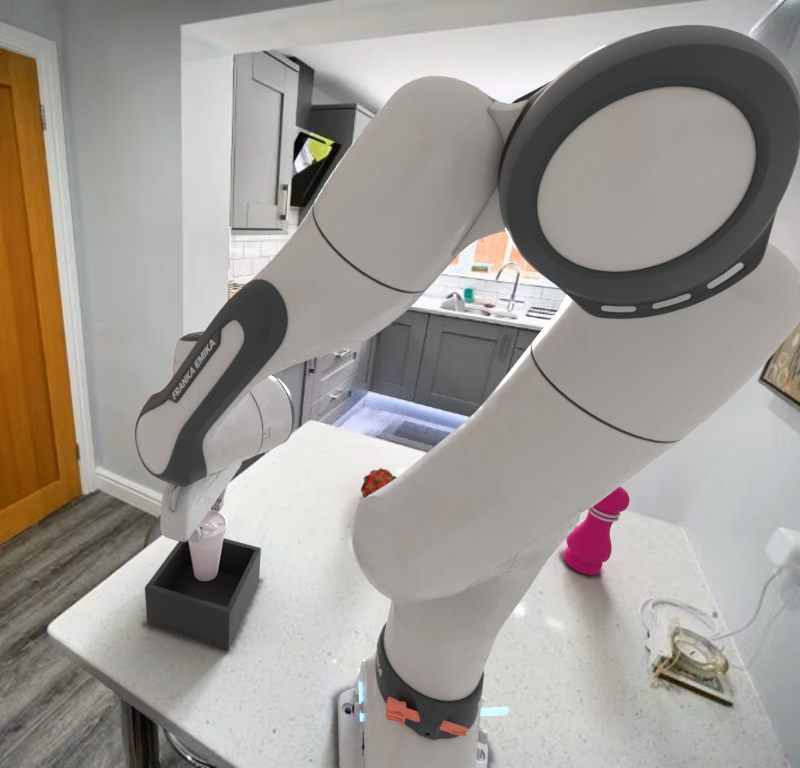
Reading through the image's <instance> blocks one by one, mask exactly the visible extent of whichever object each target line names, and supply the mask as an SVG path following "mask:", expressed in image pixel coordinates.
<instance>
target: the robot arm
mask: <svg viewBox="0 0 800 768" xmlns="http://www.w3.org/2000/svg"><path fill="white" fill-rule="evenodd" d="M799 155H800V93H799V89H798V87H797V85H796V82H795V81H794V79H793V76H792V75H791V73H790V71H789V70H788V69H787V67H786V66H785V64H784V63H783V62H782V61H781V59H780V58H778V57H777V56H776V54H774V53H773V51H771V50H770V48H768V47H766V46H765V45H764V44H762V43H761V42H759V41H757V40H756V39H754V38H752V37H750V36H748V35H746V34H744V33H741V32H739V31H736V30H732V29H730V28H724V27H720V26H715V25H707V24H706V25H704V24H681V25H671V26H665V27H660V28H654V29H651V30H647V31H643V32H639V33H635V34H632V35H628V36H624V37H622V38H619V39H617V40H613V41H612V42H609V43H606V44H604V45H603V46H601V47H598V48H597V49H595V50H593V51H591V52H589V53H587V54H586V55H584V56H583V57H581V58H579V59H578V60H577V61H575V62H573V63H572V64H571V65H570V66H568V68H566V69H565V70H563V71H562V72H561V73H560V74H558V75H557V76H556V77H555V78H554V79H552V80H551V81H549V82H547V83H545V84H543V85H541V86H539V87H537V88H535V89H533V90H532V91H530V92H528V93H526V94H523V95H522V96H520V97H518V98H516V99H515V100H513V101H512V102H510V103H508V102H503V101H500V100H497V99H495V98H493V97H492V96H490V95H489V94H487V93H486V92H484V91H483V90H482V89H480V88H479V87H477V86H475V85H473V84H471V83H469V82H467V81H466V80H462V79H459V78H457V77H451V76H444V75H428V76H421V77H418V78H415V79H413V80H411V81H409V82H407V83H405V84H403V85H402V86H401V87H399V88H398V89H397V90H396V91H395V92H393V93H392V95H391V96H390V97H389V98H388V99H387V100H386V101H385V103H384V104H383V105H382V106H381V108H380V109H378V110H377V112H376V114H374V116H373V117H372V118H371V119H370V121H369V122H368V123H367V124H366V126H364V128H363V129H362V131H361V132H360V133H359V134H358V136H357V137H356V138H355V139H354V141H353V142H352V144H350V147H349V148H348V149H347V151H346V152H345V153H344V155H343V156H342V157H341V159H340V160H339V161H338V163H337V165H336V167H335V168H334V169H333V171H332V172H331V174H330V175H329V177H328V179H327V180H326V182H325V183H324V185H323V186H322V188H321V190H320V192H319V193H318V195H317V197H316V198H315V200H314V202H313V204H312V205H311V207H310V209H309V210H308V212H307V213H306V215H305V216H304V218H303V220H302V221H301V223H300V224H299V226H298V227H297V228H296V230H295V231H294V232H293V234H292V235H291V236H290V238H289V239H288V240H287V241H286V242H285V244H284V245H283V246H282V247H281V248H280V250H279V251H278V252H277V253H276V254H275V256H274V257H273V258H271V260H270V261H269V262H268V263H267V264H266V265H265V266H264V267H263V268H262V269H261V270H260V271H259V272H258V273H257V274H256V275H255V276H254V277H252V279H250V281H248V282H247V283H245V284H244V285H243V286H242V287H241V288H240V289H239V290H237V292H235V294H233V295H232V296H231V297H230V298H229V299H228V300H227V301H226V303H225V304H224V305H222V307H221V308H220V309H219V311H218V312H217V313H216V315H215V316H214V318H213V319H212V320H211V321H210V323H209V324H208V326H207V327H206V329H205V330H204V331H203V330H202V331H197V332H191V333H187V334H185V335H183V336H182V337H180V338H179V339H178V340H177V342H176V344H175V345H176V346H175V350H174V356H173V364H172V365H173V366H172V377H171V379H170V381H169V382H168V383H167V385H166V386H165V387H164V388H163V389H162V390H160V391H158V392H155V393H154V394H152V395H150V397H149V398H148V399H147V401H146V402H145V404H144V405H143V407H142V409H141V410H140V412H139V414H138V417H137V419H136V423H135V427H134V440H135V446H136V450H137V454H138V456H139V459H140V461H141V463H142V465H143V467H144V468H145V469H146V470H147V472H148V473H149V474H150V475H152V476H153V477H155V478H156V479H158V480H161V481H163V482H165V483H167V484H166V486H165V488H164V490H163V492H162V495H161V496H162V497H161V505H160V521H159V522H160V523H159V524H160V527H159V528H160V534H161V535H162V536H163V537H164V538H166V539H169V540H173V541H177V542H179V541H181V542H186V541H188V540H189V541H192V542H195V543H198V542H199V541H200V539H201V538H202V536H203V527H201V526H199V525H200V523H201V521H202V520H203V519H204V517H205V516H206V514H207V513H208V511H209V510H211V511H216V512H219V513H220V511H221V510H222V508H223V507H224V502H225V499H224V498H225V495H226V492H227V488H228V485H229V484H230V482H231V481H232V479H233V478H234V476H235V475H236V473H237V472H238V471H239V469H240V468H241V466H242V463H243V462H244V461H246V460H249V459H251V458H253V457H256V456H259V455H261V454H263V453H266V452H268V451H271V450H273V449H275V448H277V447H279V446H280V445H283V444H285V443H286V442H287V441H288V440H289V438H290V437H291V435H292V433H293V431H294V426H295V420H296V409H295V403H294V399H293V396H292V393H291V392H290V389H289V388H288V387H287V385H286V384H285V383H284V382H283V381H282V380H281V379H279V377H277V376H275V374H277V373H279V372H281V371H284V370H286V369H289V368H290V367H294V366H296V365H299V364H301V363H304V362H307V361H310V360H314V359H315V358H319V357H322V356H325V355H329V354H331V353H334V352H338V351H340V350H344V349H347V348H350V347H352V346H356V345H358V344H362V343H363V342H366V341H367V340H369V339H371V338H373V337H374V336H375V335H377V334H378V333H380V332H381V331H382V330H384V329H386V328H387V327H388V326H389V325H391V324H392V323H394V322H395V321H396V320H398V319H399V318H400V317H401V316H402V315H404V314H405V313H406V312H407V311H408V310H409V309H410V308H411V307H412V306H413V305H414V304H415V303H416V302H417V301H419V299H420V298H421V297H423V295H424V294H425V293H426V291H427V290H428V289H429V288H430V287H431V286H432V285H433V284H434V283H435V281H436V280H437V279H438V278H439V277H440V276H441V275H442V273H443V272H444V271H445V270H446V269H447V268H448V267H449V266H450V265H451V263H452V262H453V261H454V260H456V258H458V256H460V255H461V254H462V253H463V252H465V251H466V250H467V249H468V248H469V247H470V246H472V245H474V244H475V243H477V242H478V241H480V240H482V239H484V238H487V237H489V236H492V235H496V234H500V233H505V232H506V235H507V236H508V238H509V240H510V242H511V243H512V245H513V247H514V248H515V250H516V251H517V252H518V254H519V255H520V256H521V257H522V258H523V259H524V260H525V261H526V262H527V264H528V265H530V266H531V268H532V269H534V270H535V271H536V272H537V273H539V275H541V276H543V277H544V279H546V280H548V281H549V282H551V283H552V284H554V286H556V287H557V288H558V289H559V290H560V291H562V293H564V294H565V295H566V296H565V298H564V299H563V301H562V302H561V305H560V307H559V310H557V312H556V313H555V314H554V315H553V316H552V317H551V319H550V320H549V321H548V322H547V323H546V325H544V327H543V328H542V329H541V331H540V332H539V333H538V335H536V336H535V338H534V339H533V340H532V342H531V343H530V344H529V346H528V347H527V348H526V350H525V351H524V352H523V353H522V354H521V356H520V357H519V358H518V360H517V361H516V362H515V363H514V365H513V366H512V367H511V369H510V370H509V371H508V372H507V373H506V374H505V376H504V377H503V378H502V380H501V381H500V382H499V384H498V385H497V386H496V387H495V389H494V390H493V391H492V392H491V393H490V395H488V397H487V399H486V400H485V401H484V402H483V403H482V404H481V405H480V406H479V407H478V409H477V410H475V412H474V413H472V414H471V416H469V417H468V418H467V419H466V420H465V421H464V422H463V423H461V424H460V425H459V426H458V427H457V428H455V429H454V430H453V431H451V432H450V433H449V434H448V435H446V436H445V437H444V438H443V439H441V441H440V442H438V443H436V445H434V446H433V447H432V448H431V449H430V450H429V451H427V452H426V453H424V455H423V456H422V457H421V458H419V459H418V460H417V461H416V462H415V463H414V464H412V465H411V466H409V468H407V469H406V470H405V471H404V472H402V473H401V474H400V475H398V476H396V477H397V478H396V479H394V480H393V481H391V482H390V483H388V484H387V485H385V486H383V487H382V488H380V489H378V490H377V491H375V492H373V493H372V494H370V495H369V496H367V497H363V498H362V499H361V500H360V502H359V503H358V504H357V506H356V508H355V511H354V514H353V518H352V522H351V530H350V531H351V532H350V534H351V547H352V552H353V555H354V559H355V560H356V564H357V565H358V568H359V569H360V571H361V573H362V574H363V576H364V577H365V578H366V580H367V581H368V582H369V584H370V585H371V586H372V587H373V588H374V589H375V590H376V591H378V592H379V594H381V595H382V596H384V597H385V598H387V599H388V600H390V601H391V602H390V607H389V611H388V615H387V619H386V622H385V623H384V624H383V627H382V628H381V630H380V633H379V636H378V638H377V642H376V650H375V652H373V653H372V654H370V655H368V656H367V657H365V659H362V660H361V664H360V667H358V670H357V674H358V676H357V680H356V683H355V687H353V688H351V689H348V690H345V691H344V692H342V693H341V694H340V695H339V698H338V700H337V735H338V737H337V738H338V768H488V764H489V763H488V762H489V746H488V743H487V742H488V735H489V733H488V731H487V730H486V729H483V728H481V726H480V724H481V717H487V716H488V717H489V716H506V715H508V712H509V707H508V706H499V707H498V706H497V707H495V706H494V707H483V705H484V703H485V697H483V690H484V680H485V667H486V665H487V662H488V659H489V657H490V654H491V651H492V649H493V646H494V644H495V641H496V639H497V637H498V636H499V634H500V631H501V629H502V628H503V626H504V625H505V623H506V622H507V620H508V619H509V618H510V616H511V615H512V613H513V612H514V611H515V609H516V608H517V606H518V605H519V604H520V602H521V601H522V599H523V598H524V596H525V595H526V594H527V592H528V591H529V589H530V587H531V586H532V584H533V583H534V581H535V579H536V578H537V577H538V575H539V574H540V572H541V570H542V569H543V567H544V566H545V565H546V563H547V561H548V560H549V558H551V556H552V555H553V553H554V552H555V551H556V550H557V549H558V548H559V546H561V544H562V543H563V542H564V541H565V540H567V537H568V536H569V535H570V534H571V533H572V531H573V530H574V529H575V528H576V527H577V526H578V525H579V521H580V517H581V514H582V513H584V512H585V511H588V510H587V509H589V508H591V507H593V506H594V505H596V504H597V503H599V502H600V501H601V500H603V499H604V498H605V497H606V496H608V495H609V494H610V493H612V492H613V491H614V490H616V489H617V488H618V487H620V486H621V487H622V485H624V484H625V483H626V482H628V481H629V480H630V479H631V478H633V477H634V476H636V475H637V474H638V473H640V472H641V471H642V470H644V468H646V467H648V466H649V465H650V464H651V463H653V462H654V461H656V460H657V459H658V458H660V457H661V456H662V455H663V454H665V453H666V452H668V451H669V450H670V449H671V448H672V447H674V446H675V445H676V444H678V443H679V442H680V441H682V440H683V439H684V438H686V437H687V436H689V434H691V433H692V432H694V431H695V430H696V429H697V428H698V427H699V426H701V425H702V424H703V423H705V422H706V421H707V420H708V419H709V418H710V417H712V416H713V415H714V414H715V413H716V412H717V411H718V410H720V408H722V407H723V406H724V405H725V404H726V403H727V402H729V400H730V399H732V397H733V396H735V395H736V394H737V393H738V392H739V390H741V388H743V387H744V386H745V385H746V384H747V383H748V382H749V381H750V380H751V379H752V378H753V377H754V376H755V375H756V373H757V372H759V370H760V369H761V368H762V367H764V365H765V364H766V363H767V362H768V360H769V359H770V358H772V356H773V355H774V354H775V353H776V352H777V350H778V349H779V348H780V347H781V346H782V345H783V343H784V342H785V341H786V340H787V339H788V337H789V336H790V334H792V333H793V332H794V330H795V329H796V328H797V326H798V325H799V323H800V271H799V268H798V267H797V266H796V265H795V264H794V263H793V262H792V261H791V259H790V258H789V257H788V256H787V255H785V254H784V253H783V252H782V251H781V250H780V249H778V247H777V246H774V245H773V244H771V243H770V242H769V241H770V238H771V234H772V231H773V226H774V222H775V220H776V216H777V212H778V208H779V206H780V205H781V202H782V200H783V198H784V196H785V194H786V192H787V190H788V188H789V185H790V183H791V180H792V178H793V176H794V172H795V169H796V166H797V162H798V159H799ZM346 712H349V714H348V713H346Z"/></svg>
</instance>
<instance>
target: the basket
mask: <svg viewBox="0 0 800 768" xmlns="http://www.w3.org/2000/svg"><path fill="white" fill-rule="evenodd" d="M261 553H262V548H261V547H259V546H255V545H252V544H248V543H244V542H241V541H238V540H237V541H236V540H232V539H229V538H225V537H224V539H223V544H222V550H221V555H220V561H219V567H218V573H217V575H216V577H215V578H213V579H212V580H209V581H200V580H198V579H197V578H196V577H195V575H194V570H193V564H192V559H191V553H190V547H189V542H188V541H186V542H181V541H177V543H176V545H175V546H174V548H173V549H172V550H171V551H170V553H169V554H168V556H167V557H166V558H165V560H163V562H162V563H161V565H160V566H159V567H158V569H157V570H156V572H155V573H154V574H153V576H152V577H151V578H150V580H149V581H148V582H147V584H146V585H145V586H144V596H145V597H144V598H145V610H146V611H145V612H146V625H150V626H152V627H155V628H159V629H162V630H165V631H168V632H171V633H173V634H177V635H180V636H183V637H185V638H189V639H192V640H195V641H198V642H201V643H204V644H207V645H211V646H213V647H217V648H220V649H223V650H226V651H230V649H231V647H232V644H233V642H234V640H235V638H236V635H237V633H238V630H239V628H240V625H241V624H242V622H243V620H244V617H245V615H246V613H247V610H248V608H249V605H250V603H251V601H252V598H253V596H254V594H255V592H256V589H257V587H258V585H259V583H260V571H261Z"/></svg>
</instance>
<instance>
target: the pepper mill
mask: <svg viewBox="0 0 800 768" xmlns="http://www.w3.org/2000/svg"><path fill="white" fill-rule="evenodd" d="M629 504H630V495H629V493H628V491H627V490H626V489H625V488H623V486H622V485H621V486H620V487H618V488H617V489H616V490H614V491H613V492H612V493H610V494H609V495H608V496H606V497H605V498H604V499H603V500H601V501H600V502H599V503H597V504H596V505H594V506H593V507H591V508H589V509H587V510H586V511H587V515H586V516H585V519H584V520H583V521H582V522H581V523H578V524H577V526H576V528H575V529H574V530H573V531H572V533H571V534H570V535H569V536H568V537H567V538H566V544H567V545H566V548H565V550H564V551H563V555H562V556H563V560H564V562H565V563H566V564H567V565H568V566H569V567H570V568H572V569H573V570H575V571H577V572H578V573H580V574H584V575H587V576H588V575H589V576H596V575H598V574H599V573H600V572H601V570H602V568H603V563H605V562H607V561H609V560H610V558H611V555H612V549H613V547H612V546H613V545H612V540H611V528H612V525H613V524H614V523H615V522H618V521H619V519H620V516H621V513H622V512H624V511H626V510H627V509H628V507H629Z"/></svg>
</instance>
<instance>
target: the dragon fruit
mask: <svg viewBox="0 0 800 768" xmlns="http://www.w3.org/2000/svg"><path fill="white" fill-rule="evenodd" d="M397 477H398V476H395V475H393V474H392V473H391V471H390V470H388V469H386V468H382V467H381V468H378V469H372V470H370V471H369V473H368V475H365V476H364V477H363V479H362V480H363V483H362V486H361V488H360V492H361V495H362V497H363V498H365V497H367V496H369V495H370V494H372V493H373V492H375V491H377V490H378V489H380V488H382V487H383V486H385V485H387V484H388V483H390V482H391V481H393V480H394V479H396V478H397Z"/></svg>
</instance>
